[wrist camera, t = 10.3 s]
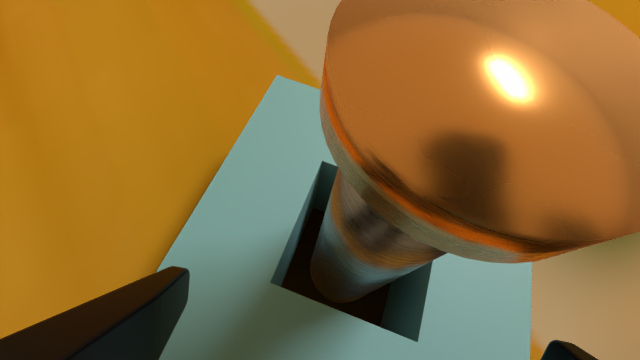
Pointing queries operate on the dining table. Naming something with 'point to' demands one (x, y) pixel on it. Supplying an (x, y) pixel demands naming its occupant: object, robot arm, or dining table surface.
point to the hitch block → (278, 250)
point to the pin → (474, 135)
